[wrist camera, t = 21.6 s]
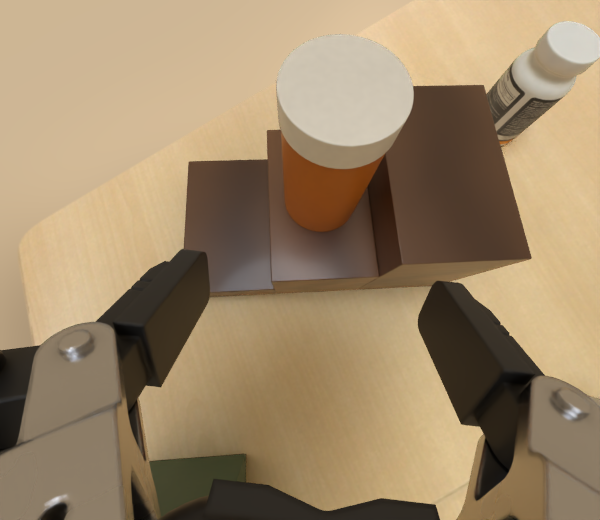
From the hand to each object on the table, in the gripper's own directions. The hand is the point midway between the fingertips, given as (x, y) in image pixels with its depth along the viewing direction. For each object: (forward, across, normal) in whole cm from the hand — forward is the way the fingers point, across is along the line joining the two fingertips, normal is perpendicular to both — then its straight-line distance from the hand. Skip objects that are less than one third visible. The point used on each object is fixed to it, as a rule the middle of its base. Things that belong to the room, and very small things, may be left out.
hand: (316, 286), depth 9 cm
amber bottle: (+13, 0, +1) cm, 13 cm away
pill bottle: (+29, -20, -5) cm, 35 cm away
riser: (+18, 0, +6) cm, 18 cm away
